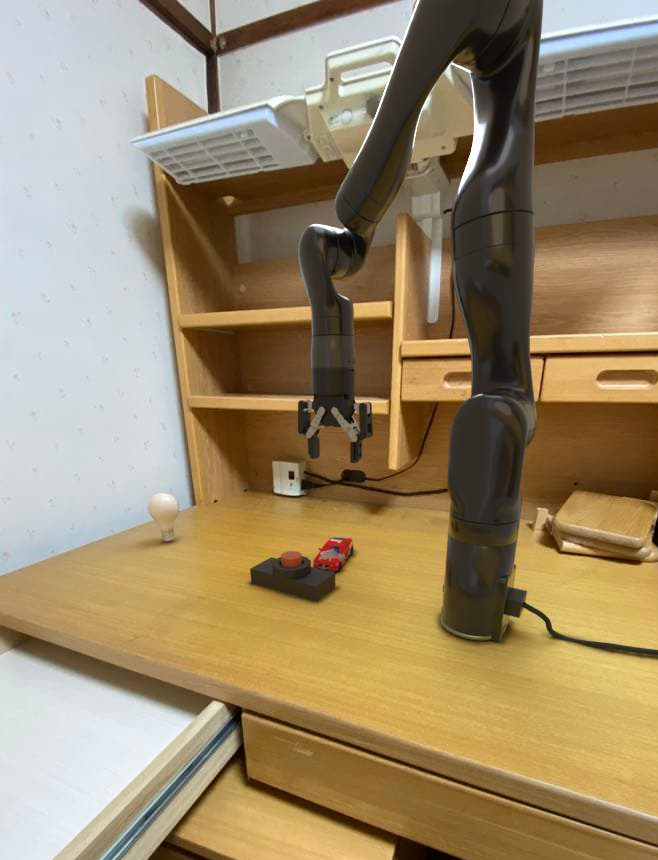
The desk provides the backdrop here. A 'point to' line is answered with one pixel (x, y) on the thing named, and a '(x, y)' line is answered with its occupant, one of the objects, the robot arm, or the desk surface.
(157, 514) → the lightbulb
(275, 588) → the button base
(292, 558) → the dock button
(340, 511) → the desk surface
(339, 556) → the race car
